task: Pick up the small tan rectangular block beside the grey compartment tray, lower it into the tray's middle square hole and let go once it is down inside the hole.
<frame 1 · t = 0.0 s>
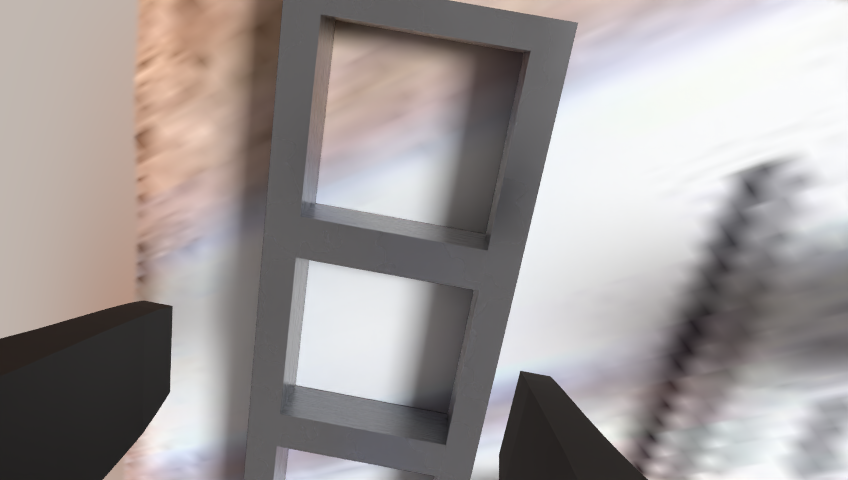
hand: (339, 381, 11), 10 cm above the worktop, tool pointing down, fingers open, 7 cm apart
grey compartment tray: (382, 331, 22), on the worktop
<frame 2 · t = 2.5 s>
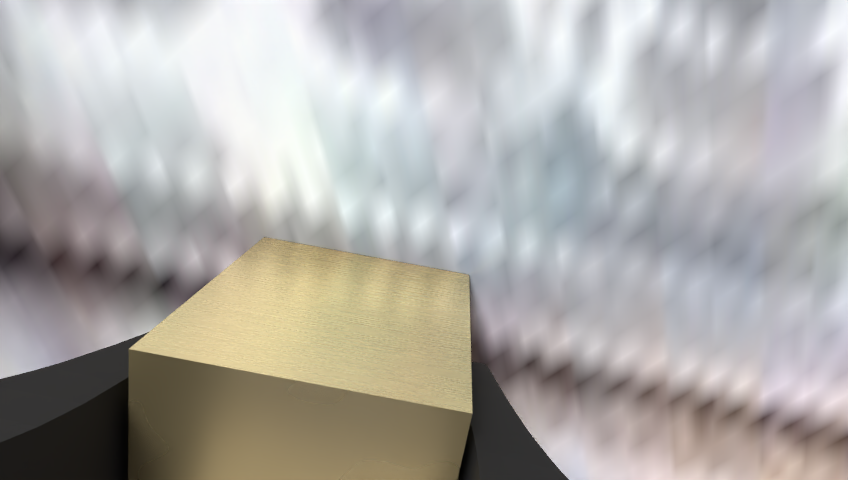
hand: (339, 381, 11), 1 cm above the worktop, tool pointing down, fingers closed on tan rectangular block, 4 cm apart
tan rectangular block: (353, 347, 12), on the worktop, touching gripper
when the fingers open (3 cm above the worktop, at t = 7.1 s): tan rectangular block drops 1 cm, resting in grey compartment tray.
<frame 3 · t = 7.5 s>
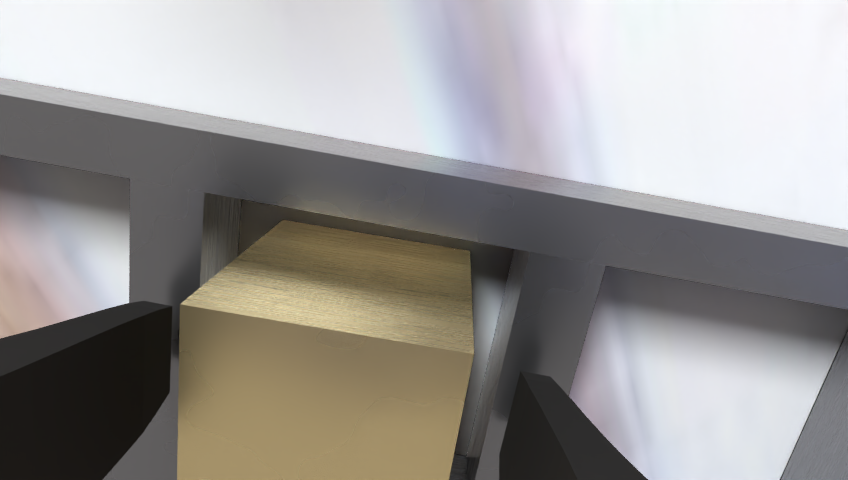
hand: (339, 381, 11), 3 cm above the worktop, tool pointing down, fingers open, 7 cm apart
grey compartment tray: (362, 324, 14), on the worktop
tan rectangular block: (365, 319, 14), resting in grey compartment tray
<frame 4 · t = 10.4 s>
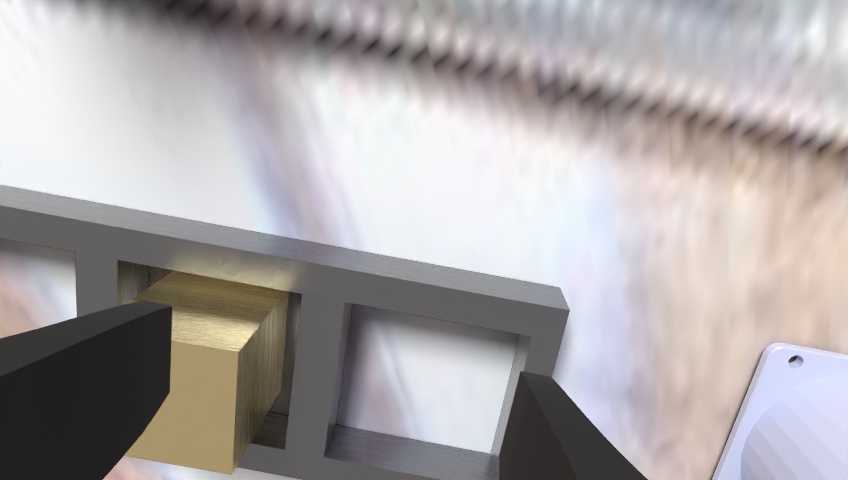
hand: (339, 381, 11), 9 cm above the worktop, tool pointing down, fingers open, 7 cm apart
grey compartment tray: (227, 334, 22), on the worktop
tan rectangular block: (230, 330, 22), resting in grey compartment tray
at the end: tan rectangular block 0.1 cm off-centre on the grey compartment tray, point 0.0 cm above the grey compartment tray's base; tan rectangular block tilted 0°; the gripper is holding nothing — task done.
